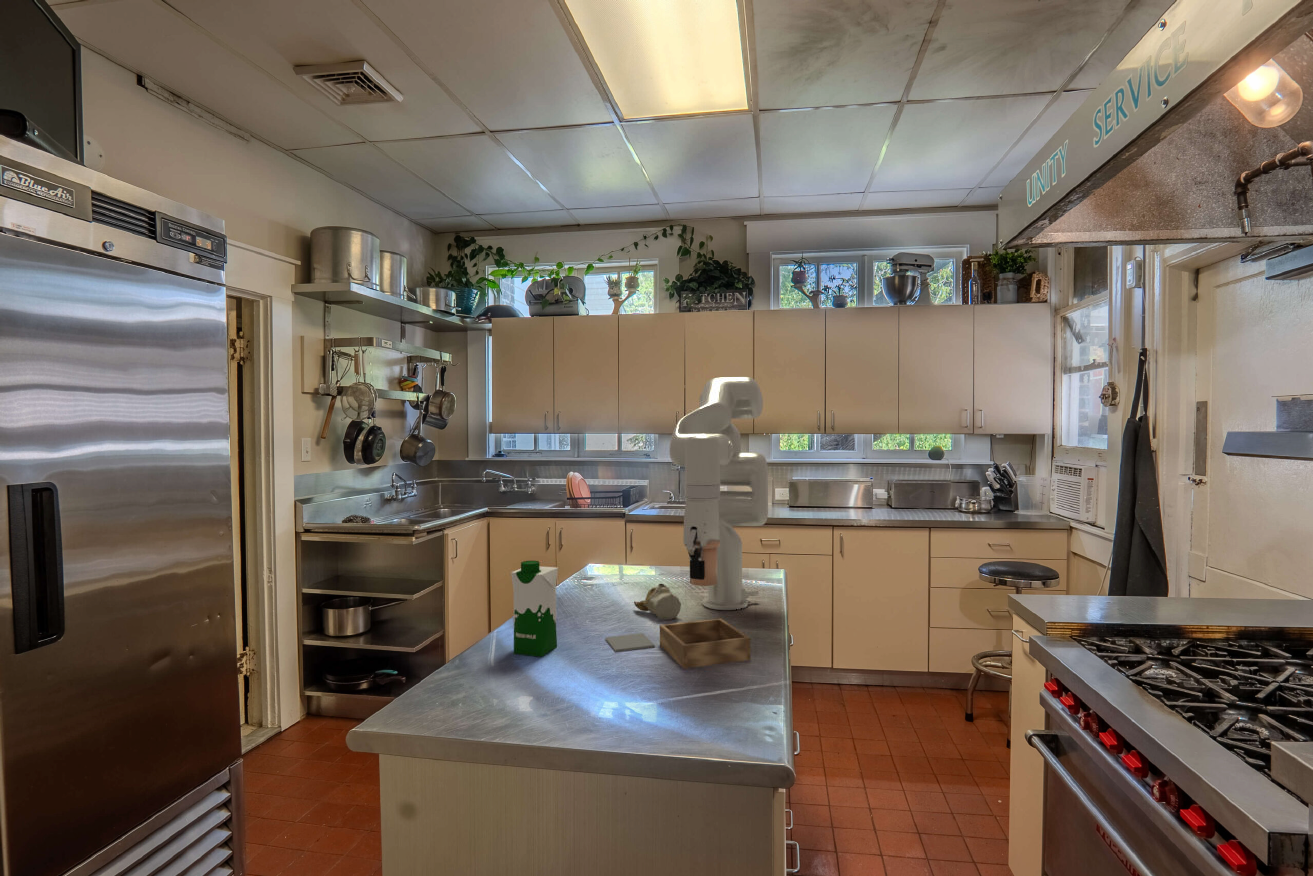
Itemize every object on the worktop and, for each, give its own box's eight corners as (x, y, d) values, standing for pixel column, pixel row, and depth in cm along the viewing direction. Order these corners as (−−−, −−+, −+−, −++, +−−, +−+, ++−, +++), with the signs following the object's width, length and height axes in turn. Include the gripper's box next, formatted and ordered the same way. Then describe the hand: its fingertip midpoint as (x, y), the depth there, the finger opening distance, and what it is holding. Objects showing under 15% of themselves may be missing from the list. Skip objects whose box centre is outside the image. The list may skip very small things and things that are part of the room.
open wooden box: (721, 640, 150) (721, 618, 150) (750, 661, 136) (750, 638, 136) (659, 647, 146) (659, 625, 146) (683, 670, 131) (683, 646, 131)
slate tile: (642, 637, 153) (642, 633, 153) (654, 649, 144) (654, 645, 144) (605, 641, 150) (605, 637, 150) (615, 654, 141) (615, 649, 141)
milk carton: (507, 654, 142) (506, 563, 141) (528, 642, 150) (528, 555, 150) (543, 659, 139) (542, 565, 138) (563, 645, 147) (562, 557, 147)
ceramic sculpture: (652, 589, 163) (631, 580, 176) (653, 624, 162) (631, 613, 176) (690, 586, 167) (667, 577, 181) (691, 620, 166) (667, 609, 180)
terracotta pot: (712, 577, 146) (711, 537, 145) (725, 584, 139) (725, 543, 139) (682, 580, 143) (681, 539, 143) (694, 588, 137) (693, 545, 136)
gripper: (701, 487, 150) (702, 565, 151) (669, 496, 135) (670, 582, 135) (732, 489, 147) (733, 568, 147) (703, 498, 131) (704, 586, 132)
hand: (703, 574), depth 141 cm, fingers closed on terracotta pot, 6 cm apart
